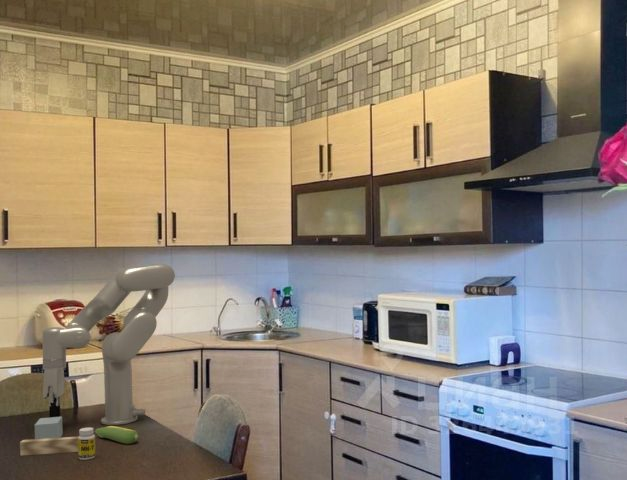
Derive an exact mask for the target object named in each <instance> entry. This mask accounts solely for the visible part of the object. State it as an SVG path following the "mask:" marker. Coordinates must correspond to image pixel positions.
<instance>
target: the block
mask: <svg viewBox="0 0 627 480" xmlns="http://www.w3.org/2000/svg"><path fill="white" fill-rule="evenodd" d="M63 426H64V425H63V416H60V417H50V416H49V417H41V418H39V419H38V420H37V421H36V423H35V424H34V439H47V438H62V436H63V435H64V433H63V432H64V431H63Z"/></svg>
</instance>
